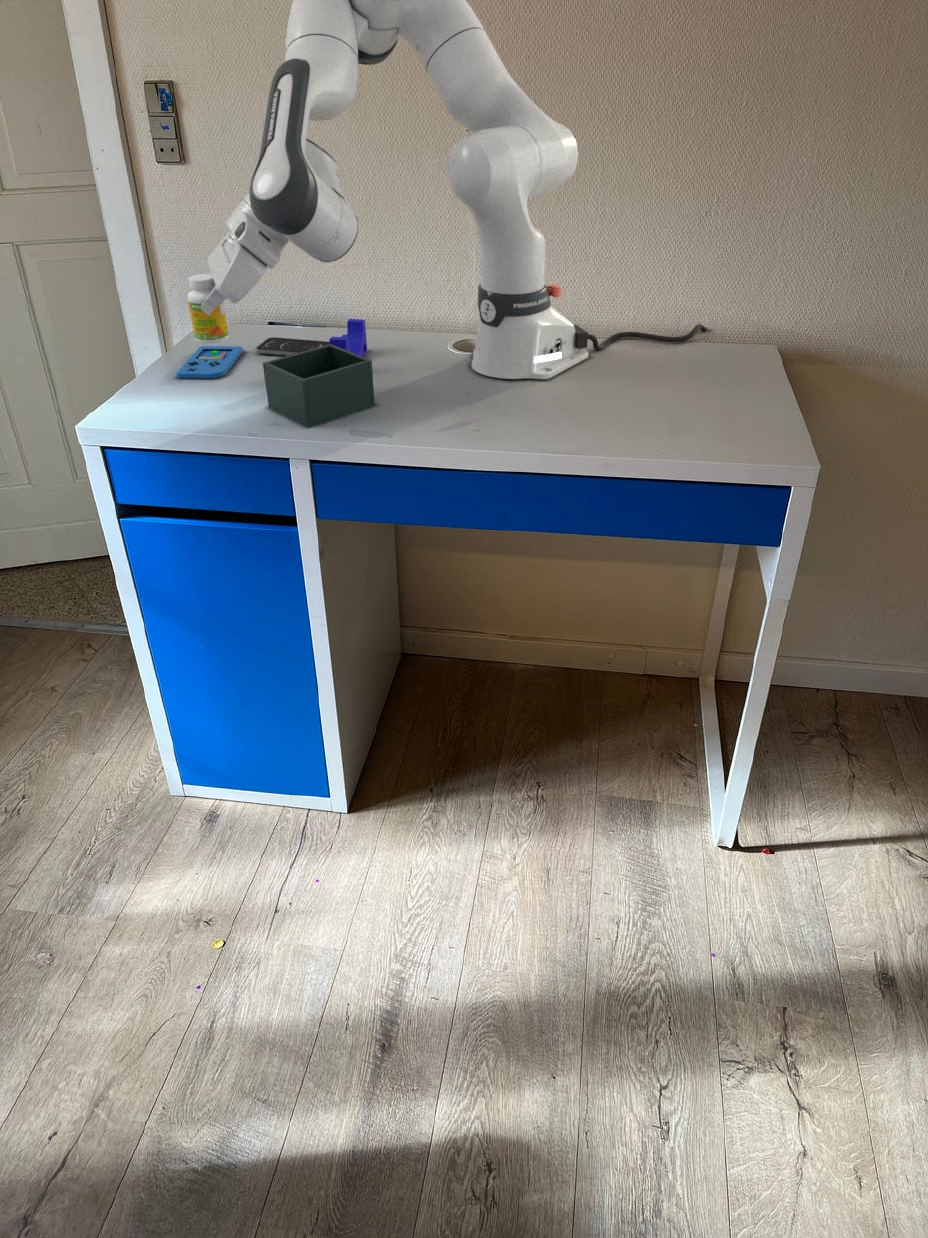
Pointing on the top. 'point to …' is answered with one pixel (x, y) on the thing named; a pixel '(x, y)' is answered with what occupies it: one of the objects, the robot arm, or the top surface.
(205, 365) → the handheld gaming device
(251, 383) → the top surface
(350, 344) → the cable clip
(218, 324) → the supplement bottle
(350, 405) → the bin
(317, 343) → the smartphone
